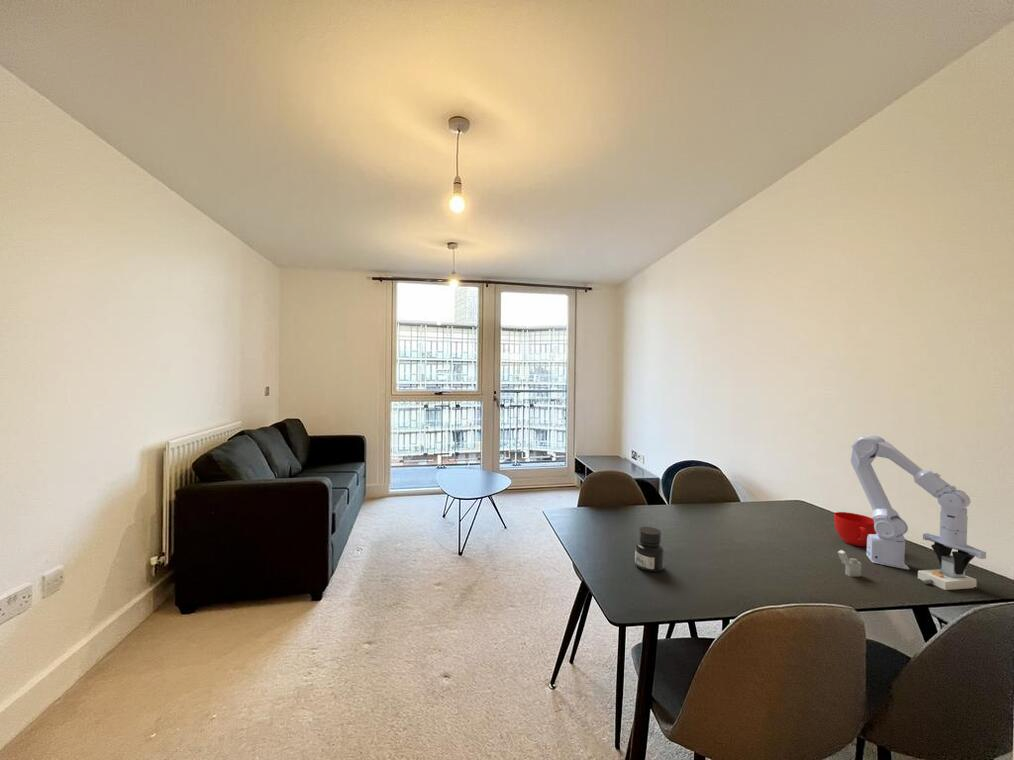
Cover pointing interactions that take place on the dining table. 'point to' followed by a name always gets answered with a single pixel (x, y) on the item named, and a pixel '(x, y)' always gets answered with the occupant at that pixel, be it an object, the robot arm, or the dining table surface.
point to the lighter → (850, 564)
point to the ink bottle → (649, 550)
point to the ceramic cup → (854, 527)
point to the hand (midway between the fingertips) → (951, 571)
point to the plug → (950, 567)
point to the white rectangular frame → (945, 580)
